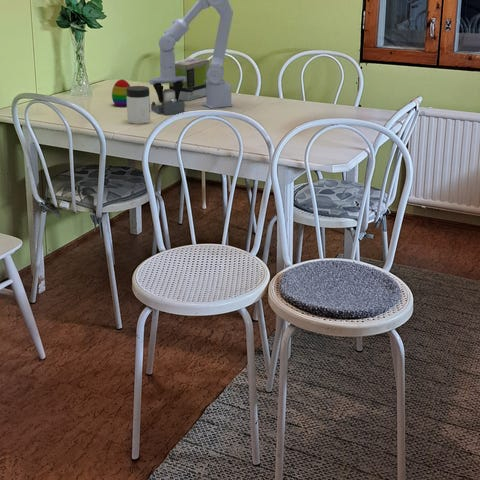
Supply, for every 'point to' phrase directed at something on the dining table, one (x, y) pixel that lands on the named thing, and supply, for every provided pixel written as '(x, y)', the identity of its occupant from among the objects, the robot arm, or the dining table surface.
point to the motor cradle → (169, 107)
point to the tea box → (192, 77)
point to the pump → (168, 94)
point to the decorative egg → (120, 93)
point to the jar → (138, 104)
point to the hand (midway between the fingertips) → (168, 101)
